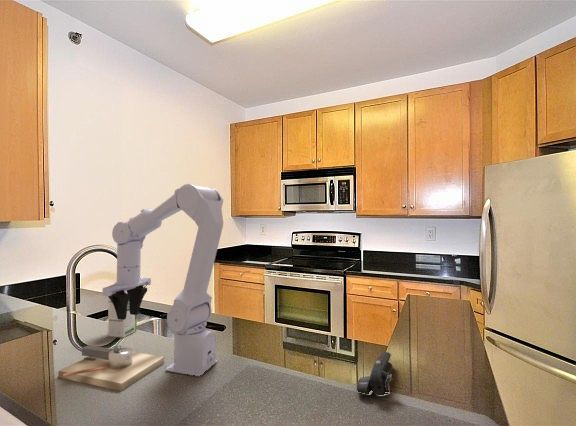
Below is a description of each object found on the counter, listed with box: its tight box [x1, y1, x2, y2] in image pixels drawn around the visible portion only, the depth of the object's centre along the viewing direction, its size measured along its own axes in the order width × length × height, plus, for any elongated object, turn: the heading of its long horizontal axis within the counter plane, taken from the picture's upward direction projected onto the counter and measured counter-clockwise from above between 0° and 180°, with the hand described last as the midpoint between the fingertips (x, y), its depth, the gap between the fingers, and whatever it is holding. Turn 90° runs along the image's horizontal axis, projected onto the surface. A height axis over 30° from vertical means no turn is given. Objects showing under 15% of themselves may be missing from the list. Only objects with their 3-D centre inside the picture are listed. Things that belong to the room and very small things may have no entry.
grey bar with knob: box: [81, 344, 134, 369], centre depth 73 cm, size 14×5×4 cm, turn 73°
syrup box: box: [107, 290, 138, 339], centre depth 95 cm, size 6×6×14 cm
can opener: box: [356, 351, 394, 395], centre depth 67 cm, size 18×7×6 cm, turn 150°
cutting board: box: [57, 347, 165, 392], centre depth 71 cm, size 18×15×2 cm
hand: (127, 316), depth 82 cm, fingers open, 4 cm apart
